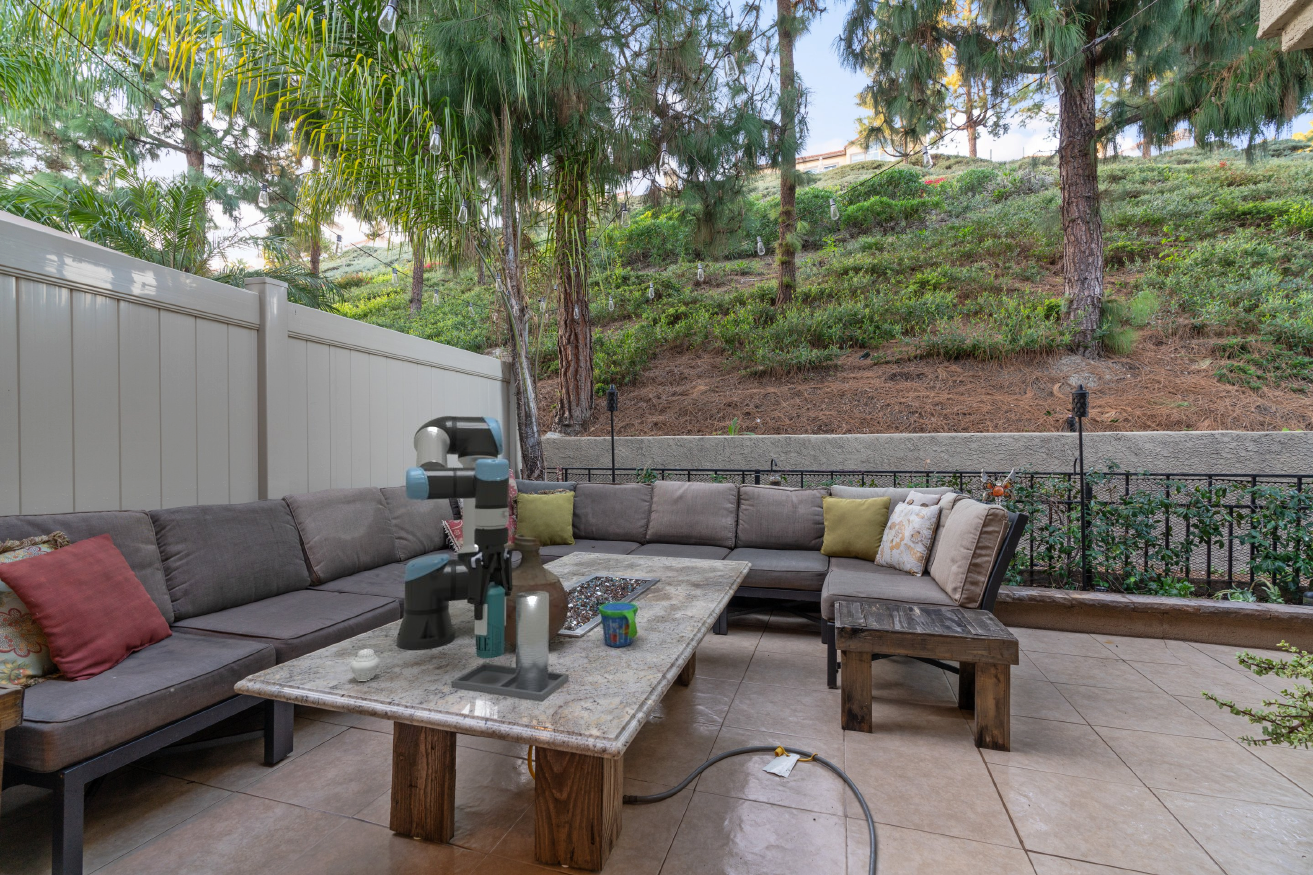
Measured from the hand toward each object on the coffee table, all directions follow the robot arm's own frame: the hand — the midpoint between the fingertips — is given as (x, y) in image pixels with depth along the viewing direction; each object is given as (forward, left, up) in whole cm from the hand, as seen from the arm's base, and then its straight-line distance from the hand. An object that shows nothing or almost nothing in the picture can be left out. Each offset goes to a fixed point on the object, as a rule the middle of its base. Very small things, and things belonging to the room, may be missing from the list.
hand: (490, 629), depth 126 cm
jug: (-27, -7, -13) cm, 30 cm away
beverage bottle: (0, 0, -7) cm, 7 cm away
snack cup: (-36, +16, -13) cm, 42 cm away
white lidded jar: (+6, -30, -13) cm, 33 cm away
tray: (0, +5, -12) cm, 14 cm away
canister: (0, +11, -11) cm, 16 cm away
